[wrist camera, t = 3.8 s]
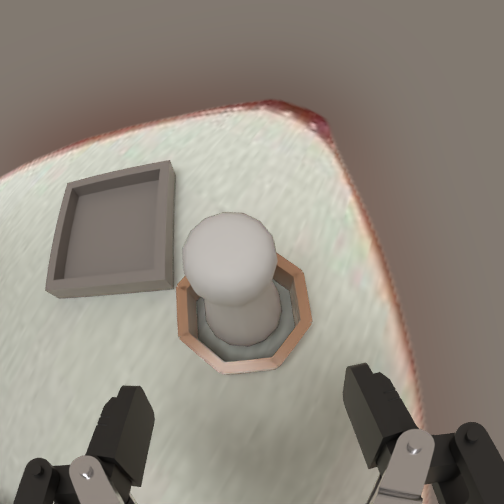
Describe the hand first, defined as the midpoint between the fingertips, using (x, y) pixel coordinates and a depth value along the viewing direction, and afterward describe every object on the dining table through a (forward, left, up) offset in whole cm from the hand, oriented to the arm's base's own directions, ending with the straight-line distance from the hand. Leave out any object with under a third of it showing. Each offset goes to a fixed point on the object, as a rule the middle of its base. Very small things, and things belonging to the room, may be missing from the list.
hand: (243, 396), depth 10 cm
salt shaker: (0, +6, -13) cm, 14 cm away
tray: (-13, +16, -12) cm, 23 cm away
